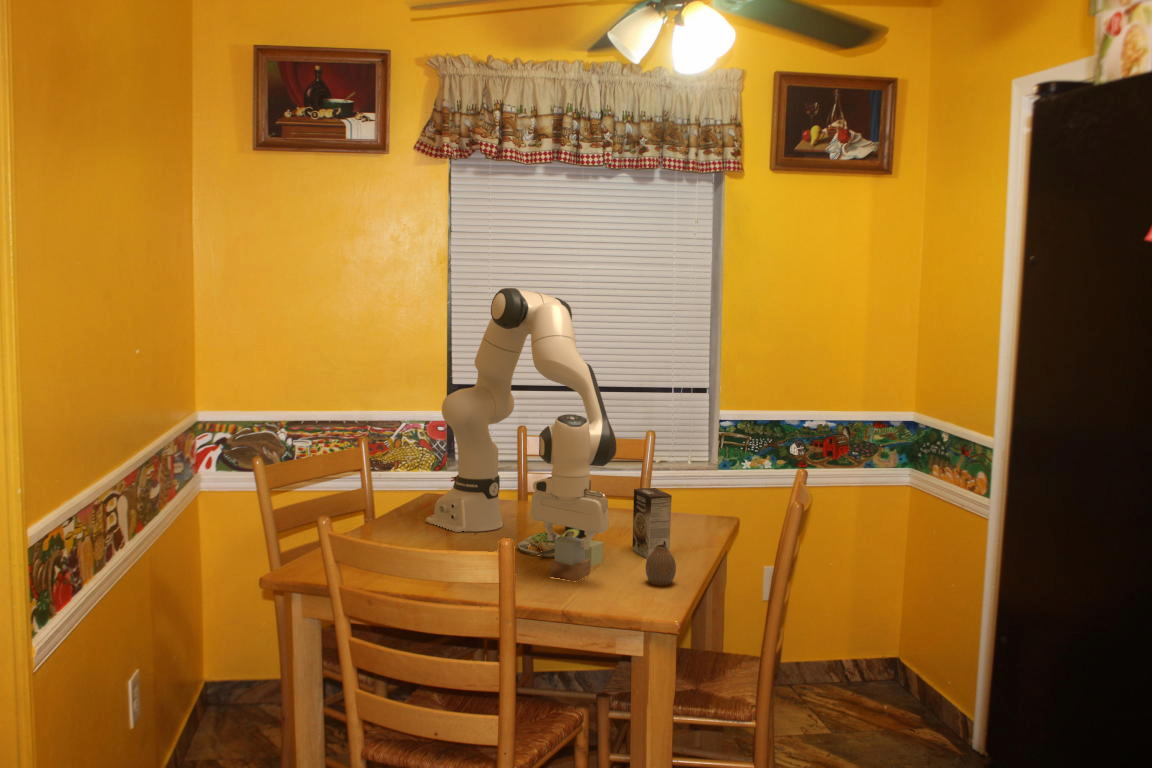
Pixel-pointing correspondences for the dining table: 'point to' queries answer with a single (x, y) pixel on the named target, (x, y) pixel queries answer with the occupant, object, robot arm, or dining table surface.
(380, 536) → the dining table surface
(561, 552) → the grey cube
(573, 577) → the walnut base
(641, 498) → the coffee box
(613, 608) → the dining table surface
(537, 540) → the salad plate
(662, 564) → the brown rounded piece
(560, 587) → the dining table surface
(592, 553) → the green cube
